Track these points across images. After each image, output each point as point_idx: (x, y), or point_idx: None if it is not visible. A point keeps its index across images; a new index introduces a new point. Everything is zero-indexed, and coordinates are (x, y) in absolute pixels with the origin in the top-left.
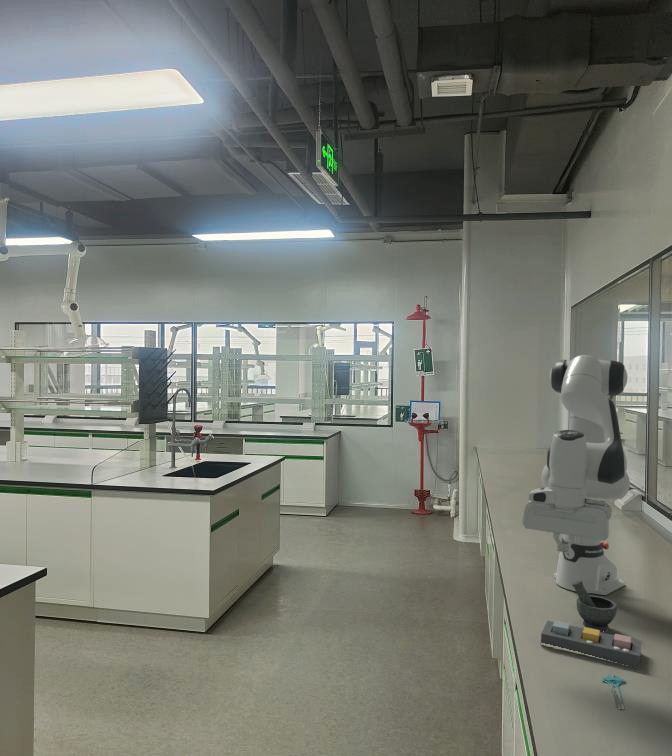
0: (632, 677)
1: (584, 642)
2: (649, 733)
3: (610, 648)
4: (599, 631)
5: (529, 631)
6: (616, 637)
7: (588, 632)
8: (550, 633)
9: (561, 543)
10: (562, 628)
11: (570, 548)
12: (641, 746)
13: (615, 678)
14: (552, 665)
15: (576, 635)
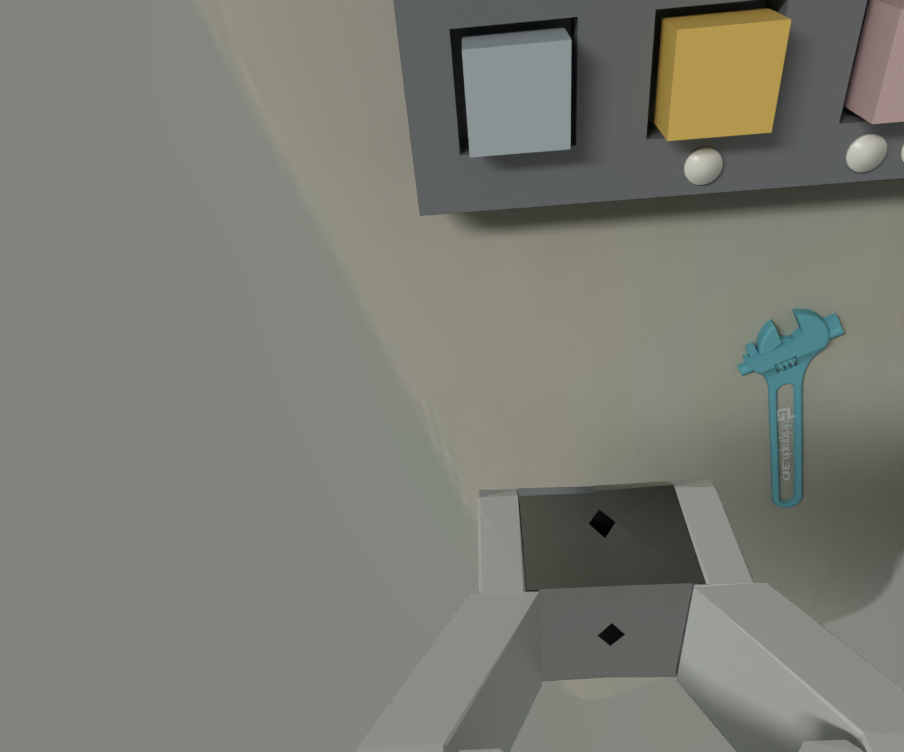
0: (884, 260)
1: (672, 185)
2: (855, 566)
3: (825, 173)
4: (785, 46)
5: (299, 22)
6: (897, 81)
7: (706, 118)
8: (466, 182)
9: (549, 616)
10: (534, 149)
11: (724, 530)
12: (817, 618)
13: (800, 344)
14: (526, 353)
15: (619, 106)
